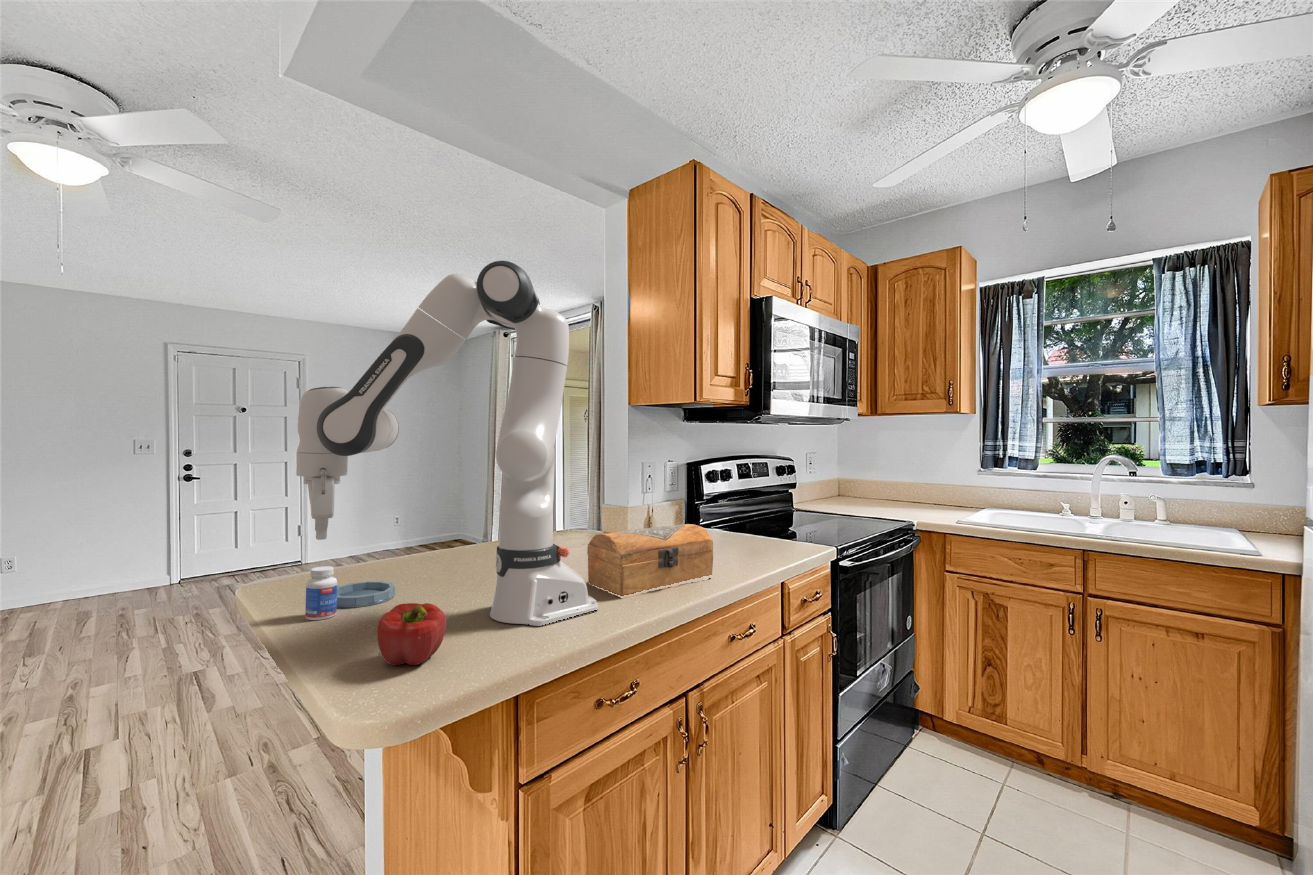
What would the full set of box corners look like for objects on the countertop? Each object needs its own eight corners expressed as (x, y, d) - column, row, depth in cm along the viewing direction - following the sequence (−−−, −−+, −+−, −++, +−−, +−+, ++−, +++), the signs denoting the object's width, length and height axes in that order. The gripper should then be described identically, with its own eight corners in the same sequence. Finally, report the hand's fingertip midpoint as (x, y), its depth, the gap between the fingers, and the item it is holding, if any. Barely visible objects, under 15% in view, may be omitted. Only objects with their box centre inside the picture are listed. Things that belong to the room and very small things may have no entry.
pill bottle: (321, 622, 107) (322, 572, 107) (298, 619, 108) (299, 570, 108) (343, 613, 112) (343, 566, 112) (320, 611, 113) (321, 564, 113)
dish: (390, 587, 131) (390, 578, 131) (397, 601, 120) (398, 591, 120) (327, 595, 124) (327, 586, 124) (329, 611, 113) (329, 601, 113)
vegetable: (456, 664, 88) (457, 602, 88) (388, 682, 82) (389, 616, 82) (432, 644, 97) (433, 588, 97) (369, 659, 90) (369, 599, 90)
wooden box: (622, 601, 124) (623, 540, 124) (585, 584, 137) (586, 529, 137) (717, 580, 142) (718, 527, 142) (677, 568, 155) (677, 519, 155)
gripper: (343, 470, 103) (341, 542, 103) (337, 463, 120) (336, 526, 120) (303, 470, 100) (301, 545, 100) (304, 463, 117) (302, 528, 117)
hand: (320, 534), depth 110 cm, fingers open, 8 cm apart
